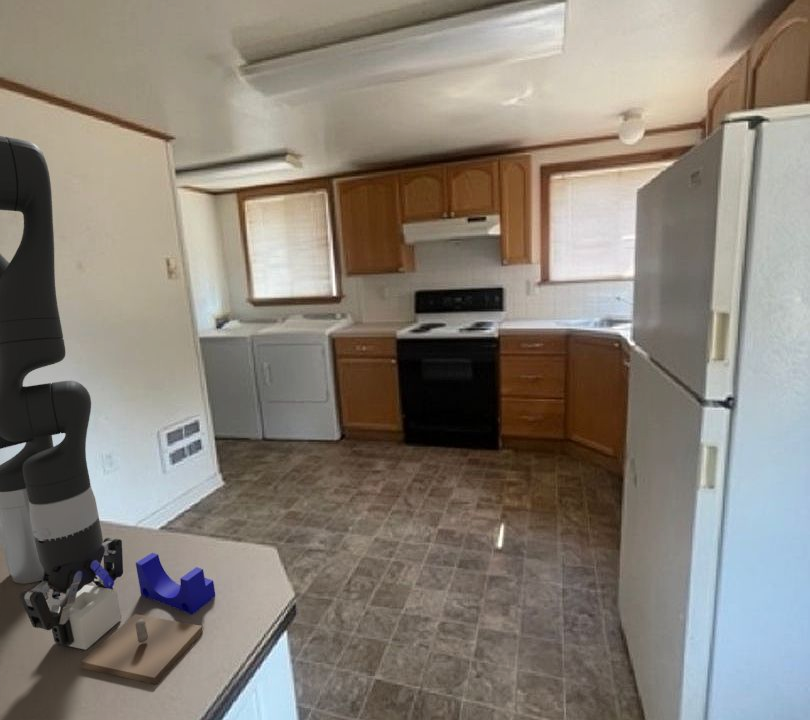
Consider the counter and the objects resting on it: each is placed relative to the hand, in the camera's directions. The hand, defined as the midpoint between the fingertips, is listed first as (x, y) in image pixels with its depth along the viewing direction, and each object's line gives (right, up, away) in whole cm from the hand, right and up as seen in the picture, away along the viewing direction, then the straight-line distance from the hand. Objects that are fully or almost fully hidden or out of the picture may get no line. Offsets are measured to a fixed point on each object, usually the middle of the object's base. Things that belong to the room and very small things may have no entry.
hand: (87, 625), depth 69 cm
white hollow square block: (0, -1, 0) cm, 1 cm away
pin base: (+11, -1, -4) cm, 11 cm away
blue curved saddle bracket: (+10, 0, +7) cm, 12 cm away
